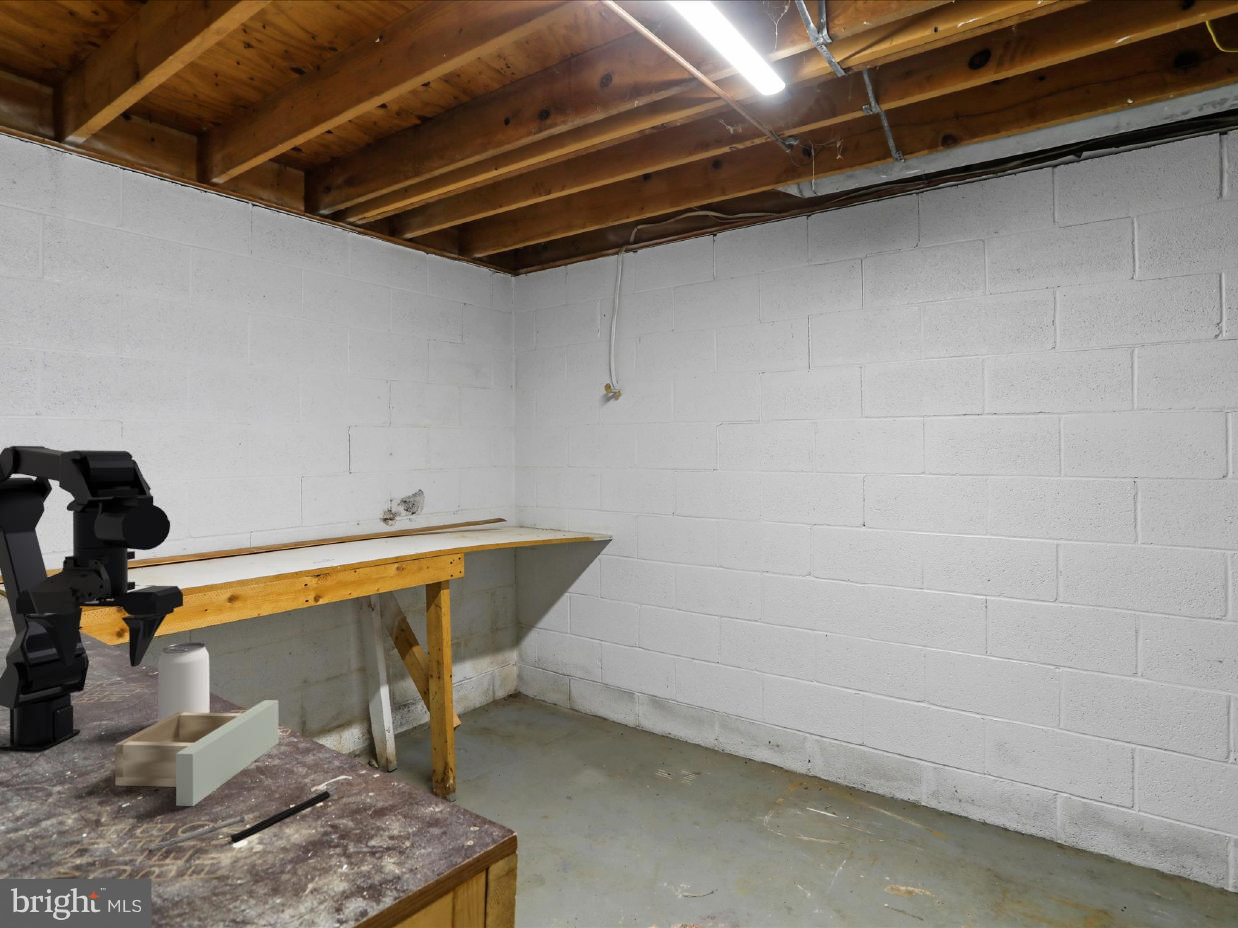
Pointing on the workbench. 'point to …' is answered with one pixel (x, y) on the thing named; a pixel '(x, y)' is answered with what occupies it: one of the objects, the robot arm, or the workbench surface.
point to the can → (183, 679)
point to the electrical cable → (280, 816)
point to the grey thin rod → (196, 833)
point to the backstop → (225, 752)
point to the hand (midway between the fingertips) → (101, 665)
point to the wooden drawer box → (162, 748)
